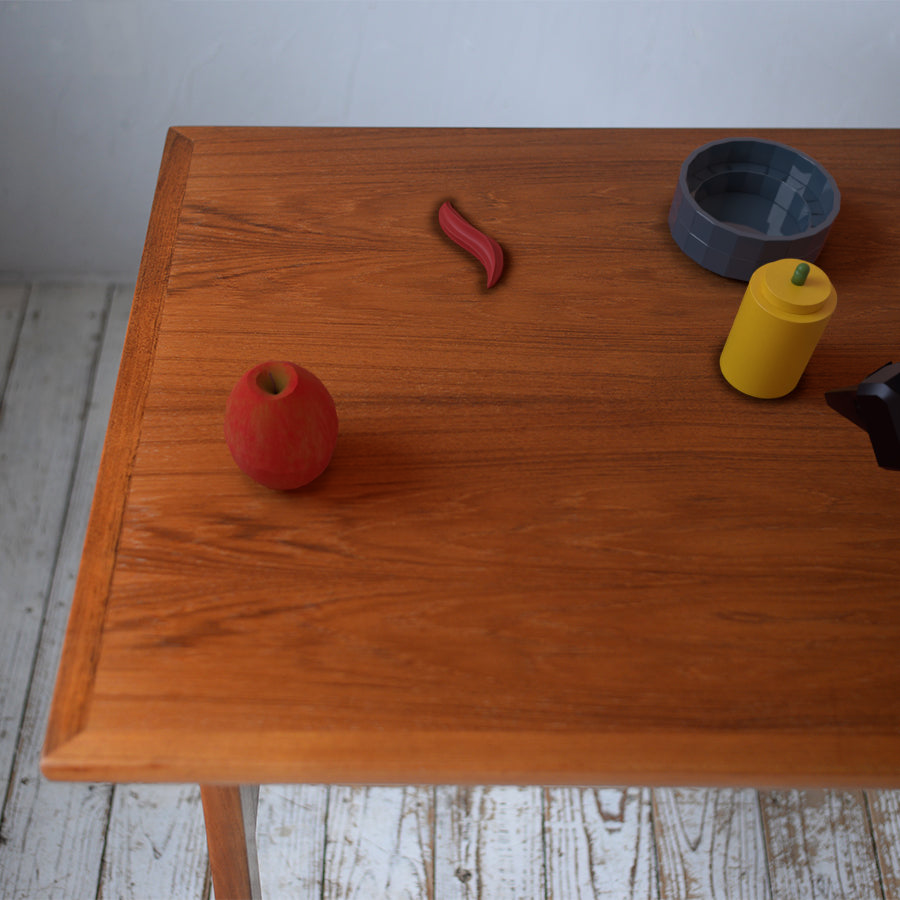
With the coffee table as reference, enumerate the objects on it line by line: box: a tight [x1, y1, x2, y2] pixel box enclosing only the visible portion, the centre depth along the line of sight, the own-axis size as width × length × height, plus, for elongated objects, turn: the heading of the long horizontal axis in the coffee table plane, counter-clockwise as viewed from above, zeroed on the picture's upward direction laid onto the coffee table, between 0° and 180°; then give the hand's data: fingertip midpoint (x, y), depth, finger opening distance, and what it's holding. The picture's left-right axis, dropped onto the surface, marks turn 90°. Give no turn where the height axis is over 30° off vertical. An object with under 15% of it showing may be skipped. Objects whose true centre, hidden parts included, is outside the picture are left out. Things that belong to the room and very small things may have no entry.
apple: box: [222, 359, 340, 491], centre depth 69 cm, size 8×8×11 cm
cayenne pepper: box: [438, 200, 504, 289], centre depth 88 cm, size 12×5×2 cm, turn 13°
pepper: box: [719, 259, 838, 400], centre depth 76 cm, size 7×7×12 cm
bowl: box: [667, 136, 842, 283], centre depth 88 cm, size 14×14×6 cm
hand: (869, 371), depth 71 cm, fingers open, 9 cm apart
